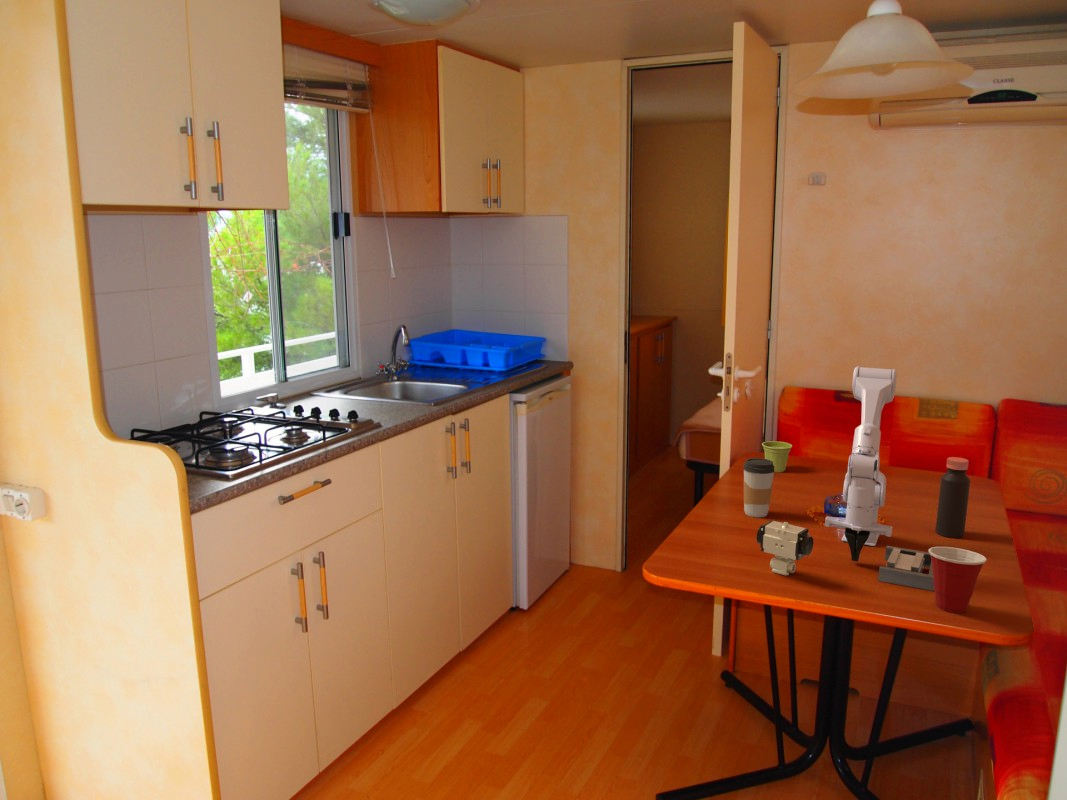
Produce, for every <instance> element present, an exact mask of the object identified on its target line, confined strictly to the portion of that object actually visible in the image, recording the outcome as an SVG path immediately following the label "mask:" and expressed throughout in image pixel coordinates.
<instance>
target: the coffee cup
mask: <svg viewBox="0 0 1067 800" xmlns="http://www.w3.org/2000/svg"><path fill="white" fill-rule="evenodd" d="M774 468H775V467H774V465H773V462H772V461H771V460H767V459H765V458H759V457H751V458H746V460H745V462H744V463H743V505H744V506H743V511H744V513H745V515H746V516H748V517H751V518H765V517H767V516H768V514H769V509H770V504H771V497H772V491H773V480H774V473H775V472H774V471H775V470H774Z"/></svg>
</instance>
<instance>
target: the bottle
mask: <svg viewBox="0 0 1067 800" xmlns="http://www.w3.org/2000/svg"><path fill="white" fill-rule="evenodd" d="M969 462H970V461H969V460H968V459H966V458H964V457H955V456H950V457H947V458H946V469H947V470H946V471H947V472H945V473H943V474H942V476H941V477H940V485H939V487H940V488H939V493H938V504H937V512H936V522H935V529H934V530H935V532H936V534H937V535H940V536H941V537H945V538H950V539H952V538H953V539H959V538H963V537H964V536H965V533H966V532H965V531H966V522H967V513H968V505H969V496H970V487H971V478H970V477H969V476H968V475H967V473H966V472H968V468H969Z"/></svg>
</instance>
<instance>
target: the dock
mask: <svg viewBox="0 0 1067 800" xmlns="http://www.w3.org/2000/svg"><path fill="white" fill-rule="evenodd" d="M894 548H897V549H901V553H902V554H907V555H912V556H915V555H916V553H917V552H918V553H924V558H925V560H924V568H925V567H927V568H929V571H928V573H923V572H922V573H917V572H912V571H906V570H900V569H895V568H889V567H886V566H882V565H880V566H879V568H878V578H877V580H878V582H883V583H889V584H893V585H897V586H898V585H899V586H902V587H903V586H904V587H910V588H913V589H919V590H926V591H931V592H935V590H934V580H933V567H932V560H931V556H930V553H929V551H921V550H915V549H908V548H903V547H897V546H891V545H886V546H885V553H884V556H885V557H884V560H885V561H888V559H889V557H890V555H891V553H892V551H893V549H894Z"/></svg>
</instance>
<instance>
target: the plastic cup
mask: <svg viewBox="0 0 1067 800" xmlns="http://www.w3.org/2000/svg"><path fill="white" fill-rule="evenodd" d="M927 552H928V553H930V556H931V560H932V567H933V580H934V590H935V591H934V597H935V598H934V599H935V604H936V607H937V608H939V609H941V610H943V611H945V612H949V613H953V614H960V613H961V614H963V613H965V612H966V611H967V608H969V604H970V601H971V598H972V596H973V593H974V590H975V587H976V584H977V580H978V577H979V576H980V575H979V574H980V573H981V569H982V568H983V565H984V564H985V563H986V562H987V558H986V557H985V556H984V555H982V554H981V553H978V552H975V551H972V550H969V549H965V548H959V547H952V546H933V547H930V548H929V549H928V551H927Z"/></svg>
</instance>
